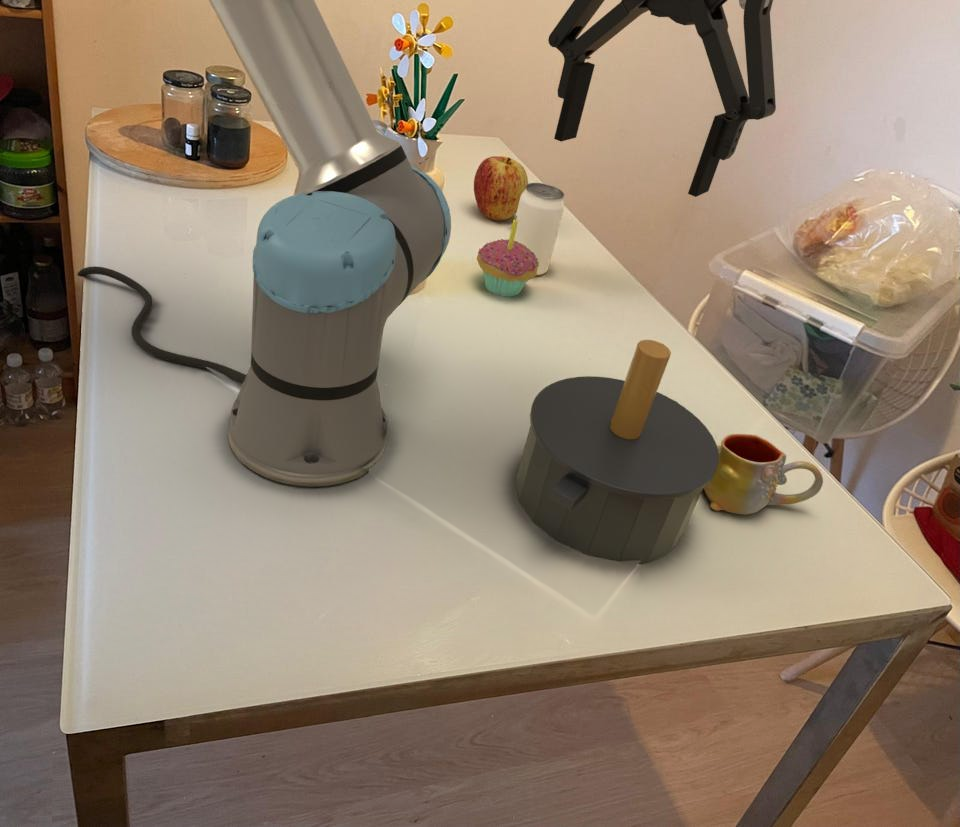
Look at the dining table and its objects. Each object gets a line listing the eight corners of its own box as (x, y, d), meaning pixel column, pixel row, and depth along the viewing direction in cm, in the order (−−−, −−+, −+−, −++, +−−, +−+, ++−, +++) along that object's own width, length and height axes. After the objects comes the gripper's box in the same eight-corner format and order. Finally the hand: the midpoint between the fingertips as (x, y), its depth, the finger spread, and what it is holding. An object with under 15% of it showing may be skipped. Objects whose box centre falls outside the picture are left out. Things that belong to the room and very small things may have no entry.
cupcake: (525, 311, 114) (546, 229, 108) (465, 295, 115) (482, 213, 108) (534, 285, 121) (554, 207, 115) (477, 270, 122) (494, 191, 115)
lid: (491, 434, 76) (515, 337, 71) (585, 366, 89) (611, 280, 84) (668, 535, 69) (710, 437, 64) (741, 445, 83) (782, 358, 77)
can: (535, 281, 123) (554, 203, 116) (497, 264, 125) (514, 187, 118) (555, 268, 127) (574, 193, 121) (518, 253, 130) (536, 178, 123)
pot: (465, 512, 79) (482, 441, 74) (579, 419, 95) (599, 356, 91) (623, 611, 72) (653, 540, 68) (716, 493, 89) (746, 429, 84)
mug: (701, 511, 86) (724, 460, 82) (694, 469, 92) (715, 420, 88) (815, 536, 86) (843, 486, 82) (801, 493, 92) (827, 445, 88)
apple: (468, 200, 144) (479, 142, 138) (520, 210, 144) (533, 153, 139) (467, 221, 136) (479, 161, 130) (522, 231, 137) (536, 172, 131)
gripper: (890, -73, 60) (774, 208, 72) (595, -144, 70) (536, 113, 82) (864, -78, 54) (743, 227, 66) (547, -155, 64) (492, 122, 76)
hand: (629, 164), depth 74 cm, fingers open, 13 cm apart
